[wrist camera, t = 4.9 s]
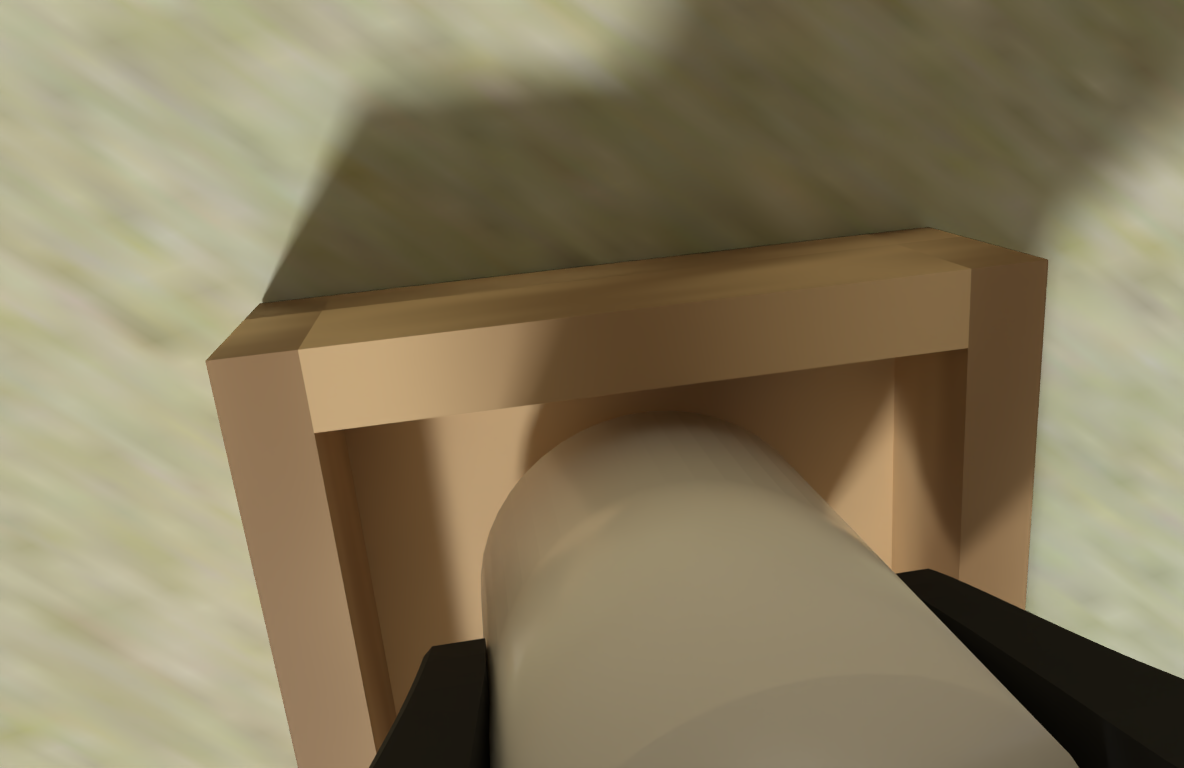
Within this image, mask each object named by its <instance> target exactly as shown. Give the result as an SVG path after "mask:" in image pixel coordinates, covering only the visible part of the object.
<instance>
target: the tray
mask: <svg viewBox="0 0 1184 768" xmlns="http://www.w3.org/2000/svg"><path fill="white" fill-rule="evenodd" d="M1047 272H1048V259H1044V258H1040V257H1037V256H1033V255H1029V254H1026V253H1022V252H1018V251H1015V250H1011V249H1007V248H1003V247H1000V246H996V245H992V244H989V243H985V242H981V241H978V240H974V239H970V238H967V237H963V236H959V235H956V234H952V233H948V232H945V231H941V230H937V229H933V228H930V227H925V228H917V229H908V230H899V231H890V232H882V233H873V234H864V235H855V236H847V237H838V238H829V239H820V240H812V241H803V242H794V243H785V244H777V245H768V246H759V247H750V248H742V249H733V250H724V251H715V252H707V253H698V254H689V255H680V256H672V257H663V258H654V259H645V260H637V261H628V262H619V263H610V264H602V265H593V266H584V267H575V268H567V269H558V270H549V271H540V272H532V273H523V274H514V275H505V276H497V277H488V278H479V279H470V280H462V281H453V282H444V283H435V284H427V285H418V286H409V287H400V288H392V289H383V290H374V291H365V292H357V293H348V294H339V295H330V296H322V297H313V298H304V299H295V300H287V301H278V302H269V303H260V304H259V305H258V306H257V307H256V308H255V309H254V310H253V311H252V312H251V313H250V314H249V315H248V317H247V318H246V319H245V320H244V321H243V322H242V323H241V324H240V325H239V326H238V327H237V328H236V329H235V330H234V331H233V332H232V333H231V335H230V336H229V337H228V338H227V339H226V340H225V341H224V342H223V343H222V344H221V345H220V346H219V347H218V348H217V349H216V350H215V351H214V352H213V354H212V355H211V356H210V357H209V358H208V359H207V360H206V365H207V370H208V374H209V378H210V383H211V387H212V392H213V396H214V400H215V405H216V409H217V414H218V418H219V422H220V427H221V431H222V436H223V440H224V444H225V449H226V453H227V457H228V462H229V466H230V471H231V475H232V479H233V484H234V488H235V493H236V497H237V501H238V506H239V510H240V515H241V519H242V523H243V528H244V532H245V536H246V541H247V545H248V550H249V554H250V558H251V563H252V567H253V572H254V576H255V580H256V585H257V589H258V594H259V598H260V602H261V607H262V611H263V615H264V620H265V624H266V629H267V633H268V637H269V642H270V646H271V651H272V655H273V659H274V664H275V668H276V673H277V677H278V681H279V686H280V690H281V694H282V699H283V703H284V708H285V712H286V716H287V721H288V725H289V730H290V734H291V738H292V743H293V747H294V752H295V756H296V760H297V765H298V768H369V766H370V765H371V763H372V761H373V759H374V757H375V756H376V754H377V752H378V750H379V748H380V747H381V745H382V743H383V741H384V739H385V737H386V736H387V734H388V732H389V730H390V728H391V727H392V725H393V723H394V721H395V719H396V717H397V715H398V713H399V711H400V709H401V707H402V705H403V703H404V701H405V699H406V697H407V695H408V692H409V690H410V688H411V686H412V684H413V681H414V679H415V677H416V674H417V672H418V670H419V667H420V665H421V662H422V659H423V657H424V655H425V654H426V653H427V652H428V651H429V649H430V648H431V647H432V646H437V645H443V644H450V643H456V642H462V641H469V640H475V639H481V638H483V624H482V604H481V569H482V561H483V554H484V550H485V546H486V543H487V539H488V535H489V532H490V530H491V527H492V525H493V523H494V520H495V518H496V516H497V513H498V511H499V510H500V508H501V506H502V505H503V503H504V501H505V500H506V498H507V496H508V495H509V493H510V492H511V490H512V489H513V488H514V486H515V485H516V484H517V483H518V481H519V480H520V479H521V478H522V476H523V475H524V474H525V473H526V472H527V471H528V470H529V469H530V468H531V467H532V466H533V465H534V464H535V463H536V462H537V461H538V460H539V459H540V458H541V457H543V456H544V455H545V454H547V453H548V452H549V451H551V450H552V449H553V448H555V447H556V446H557V445H559V444H560V443H561V442H563V441H565V440H567V439H568V438H570V437H572V436H573V435H575V434H577V433H579V432H580V431H582V430H585V429H587V428H590V427H592V426H594V425H597V424H599V423H601V422H604V421H607V420H611V419H614V418H618V417H621V416H625V415H629V414H636V413H642V412H649V411H682V412H692V413H699V414H703V415H708V416H712V417H716V418H720V419H722V420H725V421H727V422H730V423H733V424H735V425H738V426H740V427H742V428H744V429H746V430H747V431H749V432H751V433H753V434H755V435H756V436H758V437H760V438H761V439H762V440H763V441H765V442H766V443H767V444H769V445H770V446H771V447H773V448H774V449H775V450H776V451H777V452H778V453H779V454H780V455H781V456H782V457H783V458H784V459H785V460H786V461H787V462H788V463H789V464H790V465H791V466H792V467H793V468H794V469H795V470H796V471H797V472H798V473H799V474H800V475H801V476H802V477H803V478H804V480H805V481H806V482H807V483H808V484H809V485H810V486H811V487H812V488H813V489H814V490H815V491H816V492H817V493H818V494H819V495H820V496H821V497H822V498H823V499H824V500H825V501H826V502H827V503H828V504H829V505H830V506H831V507H832V509H833V510H834V511H835V512H836V513H837V514H838V515H839V516H840V517H841V518H842V519H843V520H844V521H845V522H846V523H847V524H848V525H849V526H850V527H851V528H852V529H853V530H854V531H855V532H856V533H857V534H858V535H859V536H860V538H861V539H862V540H863V541H864V542H865V543H866V544H867V545H868V546H869V547H870V548H871V549H872V550H873V551H874V552H875V553H876V554H877V555H878V556H879V557H880V558H881V559H882V560H883V561H884V562H885V563H886V564H887V565H888V567H889V568H890V569H891V570H892V571H893V572H894V573H895V574H896V573H902V572H909V571H915V570H921V569H928V568H929V569H932V570H935V571H937V572H940V573H943V574H945V575H948V576H950V577H953V578H955V579H957V580H960V581H962V582H964V583H967V584H969V585H971V586H973V587H975V588H978V589H980V590H982V591H984V592H986V593H989V594H991V595H993V596H995V597H997V598H999V599H1002V600H1004V601H1006V602H1008V603H1010V604H1012V605H1014V606H1017V607H1019V608H1021V609H1023V610H1025V603H1026V588H1027V573H1028V558H1029V543H1030V528H1031V513H1032V498H1033V483H1034V468H1035V453H1036V437H1037V422H1038V407H1039V392H1040V377H1041V362H1042V347H1043V332H1044V317H1045V302H1046V287H1047Z"/></svg>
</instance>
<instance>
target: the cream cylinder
mask: <svg viewBox="0 0 1184 768" xmlns="http://www.w3.org/2000/svg"><path fill="white" fill-rule="evenodd" d="M481 604H482V624H483V638H485V641H486V649H487V667H488V685H489V753H490V768H1079V767H1078V765H1077V764H1076V762H1075V761H1074V759H1073V758H1072V757H1071V755H1070V754H1069V753H1068V752H1067V751H1066V750H1065V749H1064V748H1063V747H1062V746H1061V745H1060V744H1059V743H1058V742H1057V741H1056V739H1055V738H1054V737H1053V736H1052V735H1051V734H1050V733H1049V732H1048V731H1047V730H1046V729H1045V728H1044V727H1043V726H1042V725H1041V724H1040V723H1039V722H1038V721H1037V720H1036V719H1035V718H1034V717H1033V716H1032V715H1031V714H1030V713H1029V712H1028V710H1027V709H1026V708H1025V707H1024V706H1023V705H1022V704H1021V703H1020V702H1019V701H1018V700H1017V699H1016V698H1015V697H1014V696H1013V695H1012V694H1011V693H1010V692H1009V691H1008V690H1007V689H1006V688H1005V687H1004V686H1003V685H1002V684H1001V683H1000V681H999V680H998V679H997V678H996V677H995V676H994V675H993V674H992V673H991V672H990V671H989V670H988V669H987V668H986V667H985V666H984V665H983V664H982V663H981V662H980V661H979V660H978V659H977V658H976V657H975V656H974V655H973V654H972V652H971V651H970V650H969V649H968V648H967V647H966V646H965V645H964V644H963V643H962V642H961V641H960V640H959V639H958V638H957V637H956V636H955V635H954V634H953V633H952V632H951V631H950V630H949V629H948V628H947V627H946V626H945V625H944V623H943V622H942V621H941V620H940V619H939V618H938V617H937V616H936V615H935V614H934V613H933V612H932V611H931V610H930V609H929V608H928V607H927V606H926V605H925V604H924V603H923V602H922V601H921V600H920V599H919V598H918V597H917V596H916V594H915V593H914V592H913V591H912V590H911V589H910V588H909V587H908V586H907V585H906V584H905V583H904V582H903V581H902V580H901V579H900V578H899V577H898V576H897V575H896V574H895V573H894V572H893V571H892V570H891V569H890V568H889V567H888V565H887V564H886V563H885V562H884V561H883V560H882V559H881V558H880V557H879V556H878V555H877V554H876V553H875V552H874V551H873V550H872V549H871V548H870V547H869V546H868V545H867V544H866V543H865V542H864V541H863V540H862V539H861V538H860V536H859V535H858V534H857V533H856V532H855V531H854V530H853V529H852V528H851V527H850V526H849V525H848V524H847V523H846V522H845V521H844V520H843V519H842V518H841V517H840V516H839V515H838V514H837V513H836V512H835V511H834V510H833V509H832V507H831V506H830V505H829V504H828V503H827V502H826V501H825V500H824V499H823V498H822V497H821V496H820V495H819V494H818V493H817V492H816V491H815V490H814V489H813V488H812V487H811V486H810V485H809V484H808V483H807V482H806V481H805V480H804V478H803V477H802V476H801V475H800V474H799V473H798V472H797V471H796V470H795V469H794V468H793V467H792V466H791V465H790V464H789V463H788V462H787V461H786V460H785V459H784V458H783V457H782V456H781V455H780V454H779V453H778V452H777V451H776V450H775V449H774V448H773V447H771V446H770V445H769V444H767V443H766V442H765V441H763V440H762V439H761V438H760V437H758V436H756V435H755V434H753V433H751V432H749V431H747V430H746V429H744V428H742V427H740V426H738V425H735V424H733V423H730V422H727V421H725V420H722V419H720V418H716V417H712V416H708V415H703V414H699V413H692V412H682V411H649V412H642V413H636V414H629V415H625V416H621V417H618V418H614V419H611V420H607V421H604V422H601V423H599V424H597V425H594V426H592V427H590V428H587V429H585V430H582V431H580V432H579V433H577V434H575V435H573V436H572V437H570V438H568V439H567V440H565V441H563V442H561V443H560V444H559V445H557V446H556V447H555V448H553V449H552V450H551V451H549V452H548V453H547V454H545V455H544V456H543V457H541V458H540V459H539V460H538V461H537V462H536V463H535V464H534V465H533V466H532V467H531V468H530V469H529V470H528V471H527V472H526V473H525V474H524V475H523V476H522V478H521V479H520V480H519V481H518V483H517V484H516V485H515V486H514V488H513V489H512V490H511V492H510V493H509V495H508V496H507V498H506V500H505V501H504V503H503V505H502V506H501V508H500V510H499V511H498V513H497V516H496V518H495V520H494V523H493V525H492V527H491V530H490V532H489V535H488V539H487V543H486V546H485V550H484V554H483V561H482V569H481Z"/></svg>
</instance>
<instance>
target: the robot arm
mask: <svg viewBox="0 0 1184 768" xmlns="http://www.w3.org/2000/svg"><path fill="white" fill-rule="evenodd" d="M896 575H897V576H898V577H899V578H900V579H901V580H902V581H903V582H904V583H905V584H906V585H907V586H908V587H909V588H910V589H911V590H912V591H913V592H914V593H915V594H916V596H917V597H918V598H919V599H920V600H921V601H922V602H923V603H924V604H925V605H926V606H927V607H928V608H929V609H930V610H931V611H932V612H933V613H934V614H935V615H936V616H937V617H938V618H939V619H940V620H941V621H942V622H943V623H944V625H945V626H946V627H947V628H948V629H949V630H950V631H951V632H952V633H953V634H954V635H955V636H956V637H957V638H958V639H959V640H960V641H961V642H962V643H963V644H964V645H965V646H966V647H967V648H968V649H969V650H970V651H971V652H972V654H973V655H974V656H975V657H976V658H977V659H978V660H979V661H980V662H981V663H982V664H983V665H984V666H985V667H986V668H987V669H988V670H989V671H990V672H991V673H992V674H993V675H994V676H995V677H996V678H997V679H998V680H999V681H1000V683H1001V684H1002V685H1003V686H1004V687H1005V688H1006V689H1007V690H1008V691H1009V692H1010V693H1011V694H1012V695H1013V696H1014V697H1015V698H1016V699H1017V700H1018V701H1019V702H1020V703H1021V704H1022V705H1023V706H1024V707H1025V708H1026V709H1027V710H1028V712H1029V713H1030V714H1031V715H1032V716H1033V717H1034V718H1035V719H1036V720H1037V721H1038V722H1039V723H1040V724H1041V725H1042V726H1043V727H1044V728H1045V729H1046V730H1047V731H1048V732H1049V733H1050V734H1051V735H1052V736H1053V737H1054V738H1055V739H1056V741H1057V742H1058V743H1059V744H1060V745H1061V746H1062V747H1063V748H1064V749H1065V750H1066V751H1067V752H1068V753H1069V754H1070V755H1071V757H1072V758H1073V759H1074V761H1075V762H1076V764H1077V765H1078V767H1079V768H1184V679H1182V678H1179V677H1177V676H1174V675H1172V674H1169V673H1167V672H1164V671H1162V670H1159V669H1157V668H1154V667H1152V666H1149V665H1147V664H1144V663H1142V662H1139V661H1137V660H1135V659H1132V658H1130V657H1128V656H1125V655H1123V654H1121V653H1118V652H1116V651H1114V650H1111V649H1109V648H1107V647H1104V646H1102V645H1100V644H1098V643H1095V642H1093V641H1091V640H1089V639H1086V638H1084V637H1082V636H1080V635H1077V634H1075V633H1073V632H1071V631H1069V630H1066V629H1064V628H1062V627H1060V626H1058V625H1055V624H1053V623H1051V622H1049V621H1047V620H1045V619H1042V618H1040V617H1038V616H1036V615H1034V614H1032V613H1029V612H1027V611H1025V610H1023V609H1021V608H1019V607H1017V606H1014V605H1012V604H1010V603H1008V602H1006V601H1004V600H1002V599H999V598H997V597H995V596H993V595H991V594H989V593H986V592H984V591H982V590H980V589H978V588H975V587H973V586H971V585H969V584H967V583H964V582H962V581H960V580H957V579H955V578H953V577H950V576H948V575H945V574H943V573H940V572H937V571H935V570H932V569H929V568H928V569H921V570H915V571H909V572H902V573H896ZM369 768H490V753H489V685H488V667H487V649H486V641H485V638H481V639H475V640H469V641H462V642H456V643H450V644H443V645H437V646H432V647H431V648H430V649H429V651H428V652H427V653H426V654H425V655H424V657H423V659H422V662H421V665H420V667H419V670H418V672H417V674H416V677H415V679H414V681H413V684H412V686H411V688H410V690H409V692H408V695H407V697H406V699H405V701H404V703H403V705H402V707H401V709H400V711H399V713H398V715H397V717H396V719H395V721H394V723H393V725H392V727H391V728H390V730H389V732H388V734H387V736H386V737H385V739H384V741H383V743H382V745H381V747H380V748H379V750H378V752H377V754H376V756H375V757H374V759H373V761H372V763H371V765H370V766H369Z"/></svg>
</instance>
